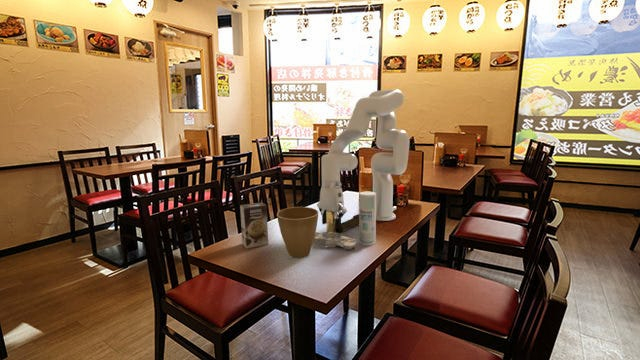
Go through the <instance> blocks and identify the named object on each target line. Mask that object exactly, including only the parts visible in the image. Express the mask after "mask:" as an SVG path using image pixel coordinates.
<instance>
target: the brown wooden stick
mask: <svg viewBox="0 0 640 360" xmlns="http://www.w3.org/2000/svg"><path fill="white" fill-rule="evenodd" d="M356 226H357V227H358V226H359V213H357V214H355V215H353V216H352V218H351V219H348V220H346V221H343V222H341V226H340V227H338V228H336V232H337V233H340V234H342V233H344V231H346V230H348V229H351V228H352V227H353V228H354V227H356Z"/></svg>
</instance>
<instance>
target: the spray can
mask: <svg viewBox="0 0 640 360" xmlns="http://www.w3.org/2000/svg"><path fill="white" fill-rule="evenodd" d="M358 193H359V194H358V197H359V198H358V201H359V202H358V203H359V204H358V209H359V210H358V212H359V213H358V214H359V225H358V226H359V227H358V229H359V244H361V245H363V246H374V245H375V244H376V237H377V235H376V233H377V232H376V229H377V227H376V226H377V220H376V193H375V192H373V191H370V190H369V191H366V190H365V191H360V192H358Z"/></svg>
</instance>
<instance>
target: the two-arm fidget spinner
mask: <svg viewBox="0 0 640 360" xmlns="http://www.w3.org/2000/svg"><path fill="white" fill-rule="evenodd" d="M317 242H318V246H321V247H323V248H336V246H337V247H341V250H343V251H353V250H354V249H355V247H356V244H357V240H356V239H354V238H351V237H349V236H344V235H342V233H337V232H327V231H325V232H319V231H316V233H315V237H314V241H313V243H317ZM326 246H327V247H326Z"/></svg>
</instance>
